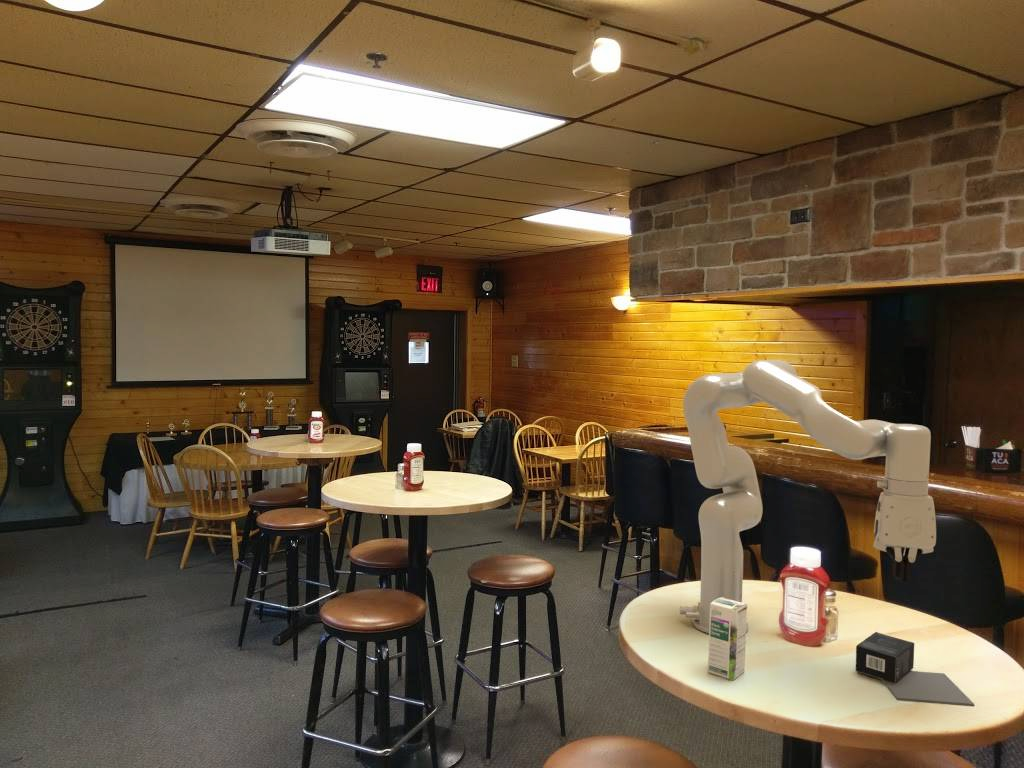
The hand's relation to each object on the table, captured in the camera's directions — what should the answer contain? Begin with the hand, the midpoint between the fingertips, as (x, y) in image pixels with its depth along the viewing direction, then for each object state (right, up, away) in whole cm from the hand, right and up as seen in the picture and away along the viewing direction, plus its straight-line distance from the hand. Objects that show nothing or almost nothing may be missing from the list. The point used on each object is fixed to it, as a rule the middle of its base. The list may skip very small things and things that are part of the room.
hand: (901, 580), depth 145 cm
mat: (+4, -21, 0) cm, 21 cm away
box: (-4, -18, +3) cm, 18 cm away
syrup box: (-33, -21, +6) cm, 39 cm away
